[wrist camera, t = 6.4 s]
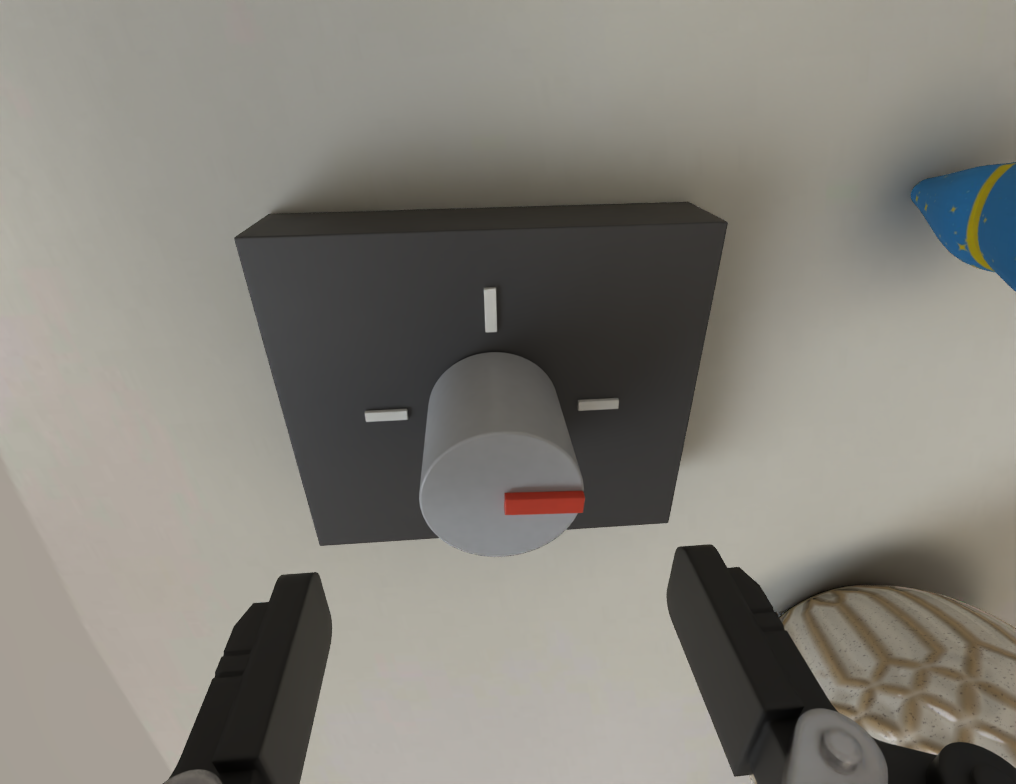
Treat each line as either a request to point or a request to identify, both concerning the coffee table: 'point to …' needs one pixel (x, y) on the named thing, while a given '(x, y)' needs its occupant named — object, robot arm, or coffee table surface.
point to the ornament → (974, 216)
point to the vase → (911, 666)
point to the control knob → (498, 458)
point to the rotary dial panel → (482, 342)
